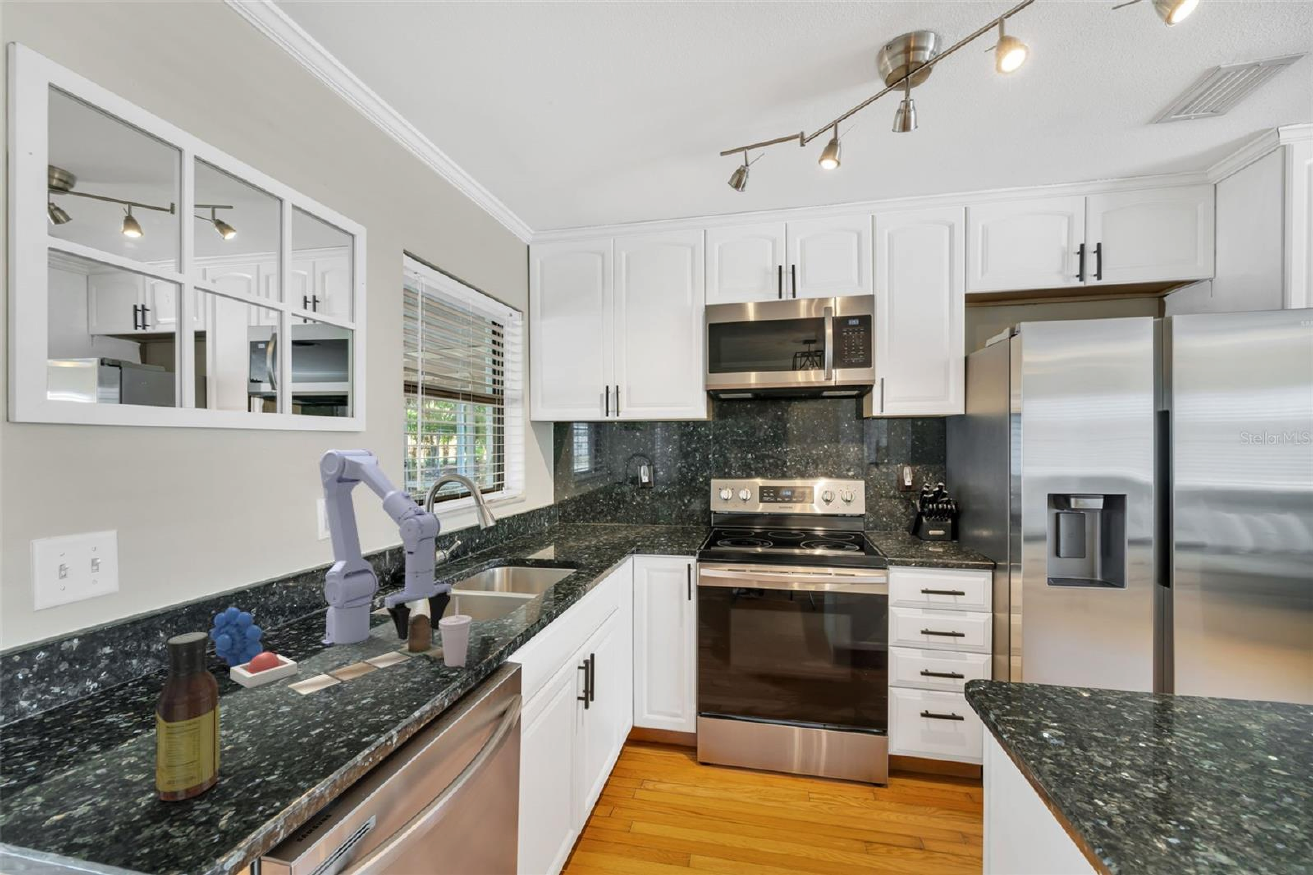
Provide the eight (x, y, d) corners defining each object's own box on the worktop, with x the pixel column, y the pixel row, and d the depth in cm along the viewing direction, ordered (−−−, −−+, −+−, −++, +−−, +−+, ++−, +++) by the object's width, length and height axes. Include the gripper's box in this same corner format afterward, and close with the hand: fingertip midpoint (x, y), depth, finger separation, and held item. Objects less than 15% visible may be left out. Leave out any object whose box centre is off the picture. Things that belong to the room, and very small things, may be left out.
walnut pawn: (404, 650, 117) (404, 615, 117) (422, 644, 120) (422, 610, 121) (416, 654, 114) (416, 618, 114) (434, 647, 118) (435, 613, 118)
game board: (278, 688, 100) (278, 683, 100) (417, 643, 124) (417, 638, 124) (309, 705, 94) (309, 699, 94) (450, 654, 117) (450, 649, 117)
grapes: (190, 673, 107) (191, 612, 107) (224, 660, 114) (224, 602, 114) (240, 678, 105) (241, 615, 105) (271, 664, 112) (272, 605, 112)
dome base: (230, 683, 102) (230, 667, 102) (278, 669, 109) (278, 654, 109) (248, 694, 98) (248, 677, 98) (297, 678, 105) (297, 662, 105)
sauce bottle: (181, 776, 73) (184, 628, 74) (230, 774, 74) (233, 626, 74) (139, 808, 67) (143, 645, 67) (193, 805, 67) (196, 643, 68)
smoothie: (477, 662, 113) (477, 594, 113) (463, 675, 106) (463, 602, 107) (447, 661, 113) (448, 593, 114) (432, 673, 107) (432, 602, 107)
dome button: (243, 680, 103) (244, 654, 103) (272, 671, 107) (273, 646, 107) (254, 686, 100) (255, 659, 100) (283, 677, 104) (284, 651, 104)
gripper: (398, 579, 110) (398, 647, 109) (460, 566, 122) (459, 627, 121) (379, 575, 113) (378, 640, 113) (440, 562, 126) (440, 622, 125)
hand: (419, 633), depth 118 cm, fingers open, 7 cm apart
